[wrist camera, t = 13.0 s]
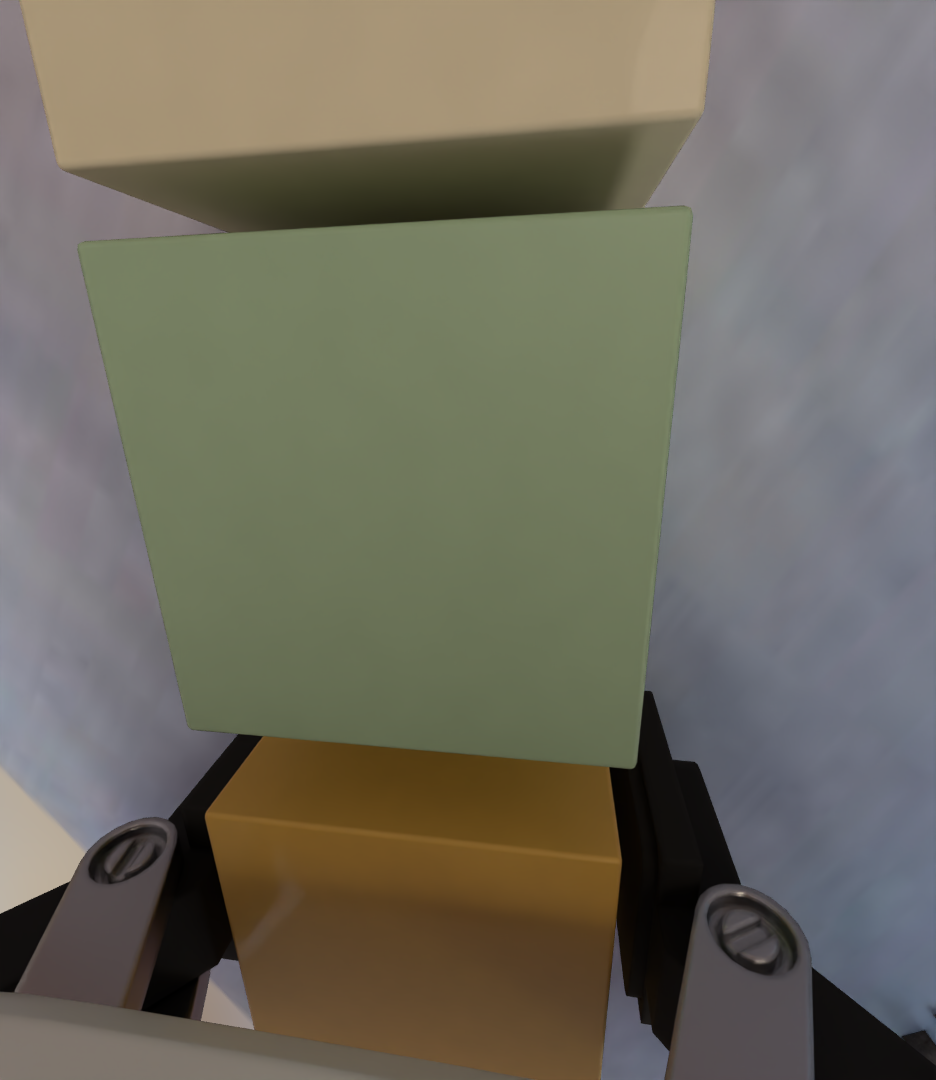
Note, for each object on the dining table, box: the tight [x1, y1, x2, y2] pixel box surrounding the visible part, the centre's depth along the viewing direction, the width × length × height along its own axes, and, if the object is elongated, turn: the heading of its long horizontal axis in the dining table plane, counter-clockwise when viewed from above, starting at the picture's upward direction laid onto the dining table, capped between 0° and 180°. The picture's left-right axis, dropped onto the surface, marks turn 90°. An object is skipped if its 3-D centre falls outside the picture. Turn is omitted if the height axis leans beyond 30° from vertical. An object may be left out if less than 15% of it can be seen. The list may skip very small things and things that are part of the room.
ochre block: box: [205, 736, 622, 1080], centre depth 9 cm, size 5×5×5 cm
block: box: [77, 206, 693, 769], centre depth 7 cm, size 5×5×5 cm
